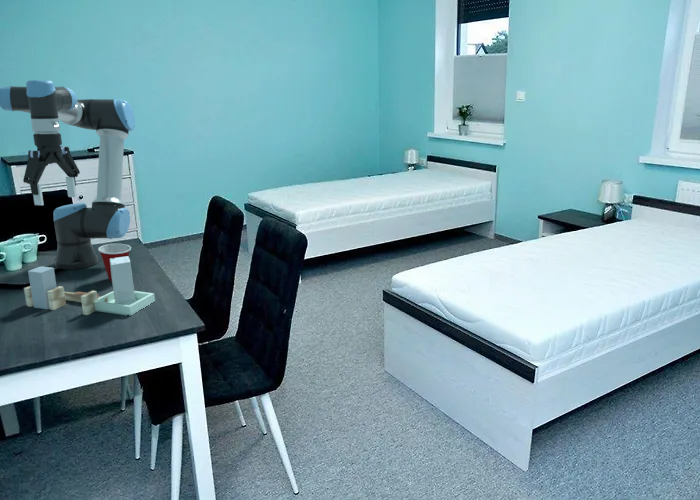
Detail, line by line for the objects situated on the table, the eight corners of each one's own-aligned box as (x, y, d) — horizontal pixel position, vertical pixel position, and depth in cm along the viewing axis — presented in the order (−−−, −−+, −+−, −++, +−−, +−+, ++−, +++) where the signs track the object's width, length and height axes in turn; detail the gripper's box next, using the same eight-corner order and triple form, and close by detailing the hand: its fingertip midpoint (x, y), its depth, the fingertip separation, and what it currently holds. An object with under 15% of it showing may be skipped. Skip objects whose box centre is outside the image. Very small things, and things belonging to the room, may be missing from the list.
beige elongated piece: (48, 296, 184) (46, 279, 182) (108, 304, 177) (106, 286, 176) (26, 306, 175) (23, 288, 174) (87, 315, 169) (85, 296, 167)
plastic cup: (120, 285, 194) (116, 252, 191) (95, 282, 197) (91, 249, 194) (140, 276, 204) (137, 244, 201) (116, 272, 207) (113, 241, 204)
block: (46, 301, 179) (40, 266, 176) (59, 303, 178) (53, 267, 174) (33, 307, 175) (27, 271, 171) (46, 309, 173) (41, 272, 170)
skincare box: (136, 307, 174) (131, 262, 169) (115, 310, 171) (110, 264, 167) (134, 298, 181) (129, 255, 177) (114, 301, 178) (109, 257, 174)
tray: (118, 297, 184) (117, 288, 183) (155, 302, 180) (154, 293, 179) (92, 310, 173) (91, 301, 172) (131, 316, 169) (130, 306, 168)
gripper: (22, 136, 158) (34, 209, 164) (86, 130, 181) (94, 194, 187) (2, 135, 160) (13, 207, 166) (67, 129, 183) (75, 193, 189)
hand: (56, 200), depth 176 cm, fingers open, 13 cm apart
